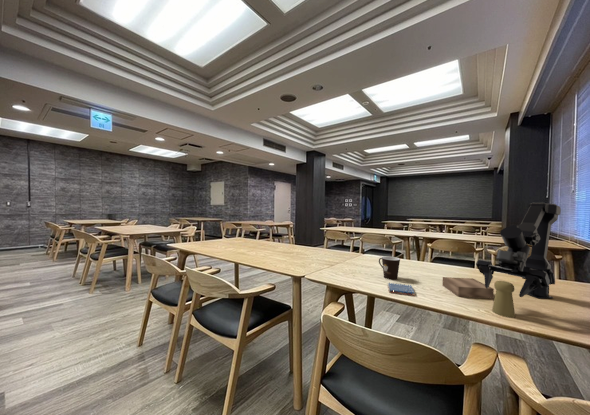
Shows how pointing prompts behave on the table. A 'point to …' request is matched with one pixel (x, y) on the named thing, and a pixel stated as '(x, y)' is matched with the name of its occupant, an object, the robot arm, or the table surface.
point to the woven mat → (401, 289)
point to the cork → (503, 299)
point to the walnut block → (467, 287)
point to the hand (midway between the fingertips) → (502, 291)
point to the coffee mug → (390, 267)
